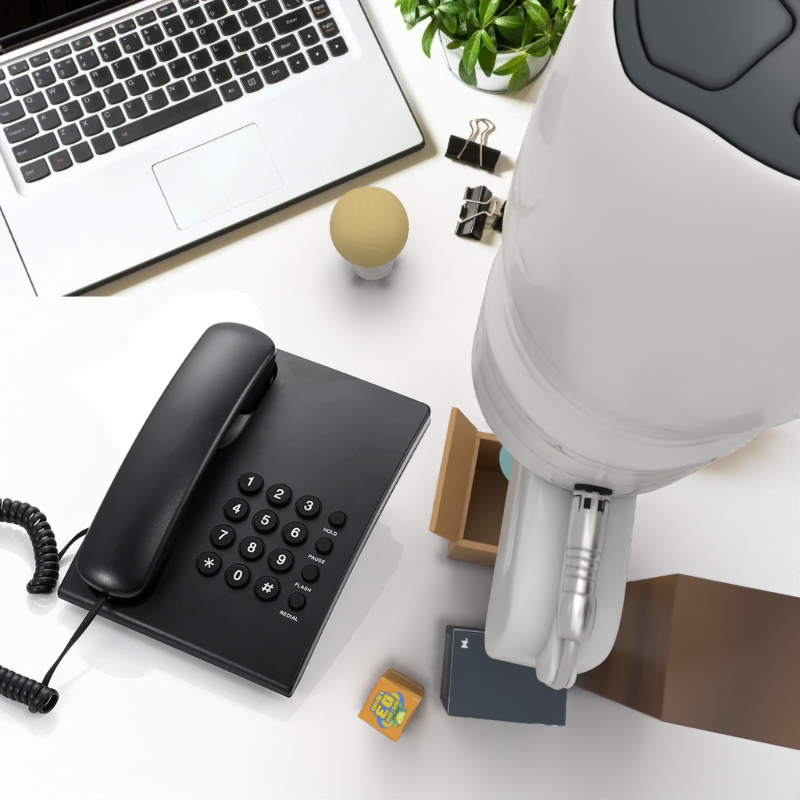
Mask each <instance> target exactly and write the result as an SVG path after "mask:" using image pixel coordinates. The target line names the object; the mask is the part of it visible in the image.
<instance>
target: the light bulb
mask: <svg viewBox="0 0 800 800" xmlns="http://www.w3.org/2000/svg"><path fill="white" fill-rule="evenodd" d="M408 217H409V216H408V214H407V210H406V208H405V207H404V205H403V203H402V201H401V200H400V199H399V197H397V196H396V194H394V193H393V192H392V191H390V190H388V189H386V188H383V187H380V186H370V185H369V186H368V185H367V186H366V185H365V186H360V187H357V188H352V189H351V190H349V191H347V192H345V193H344V194H343V195H342V196H340V197H339V198H338V200H337V202H336V203H335V205H334V206H333V208H332V211H331V214H330V218H329V235H330V239H331V241H332V244H333V246H334V248H335V250H336V251H337V253H338V254H339V256H341V257H342V258H343V259H344V260H346V261H347V262H349V263H350V264H351V267H352V269H353V271H354V272H355V274H356V275H357V276H358V277H360V278H361V279H362V280H363V279H364V280H366V281H378V280H382V279H383V278H385V277H387V276H388V275H389V273H390V272H392V270H393V267H394V264H395V259H396V258H397V257H398V256H399V255H400V254H401V253H402V251H403V249H404V248H405V246H406V244H407V242H408V237H409V232H410V221H409V218H408Z"/></svg>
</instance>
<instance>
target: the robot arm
mask: <svg viewBox="0 0 800 800" xmlns="http://www.w3.org/2000/svg"><path fill="white" fill-rule="evenodd" d="M472 339H473V340H472V341H473V342H472V346H471V359H470V364H471V379H472V385H473V390H474V393H475V398H476V400H477V401H476V402H477V404H478V406H479V409H480V412H481V415H482V416H483V418H484V420H485V422H486V423H487V426H488V427H489V429H490V430H491V432H492V434H494V435H495V437H496V438H497V439H498V440H499V442H500V443H501V444H502V445H503V447H504V448H505V449H506V450H507V451H508V452H509V453H510V454H511V455H512V456H513V459H512V465H511V472H510V478H509V484H508V490H507V496H506V502H505V508H504V514H503V520H502V526H501V533H500V539H499V545H498V551H497V557H496V563H495V567H494V569H493V575H492V582H491V589H490V594H489V600H488V605H487V611H486V612H487V613H486V620H485V627H484V628H485V650H486V653H487V655H488V656H489V657H491V658H493V659H498V660H502V661H506V662H511V663H515V664H519V665H524V666H528V667H533V668H536V675H537V678H538V680H539V681H541V682H543V683H545V684H546V685H547V686H549V687H551V688H553V689H556V690H559V689H562V688H567V689H571V688H572V687H573V686H574V685H573V684H574V683H575V680H576V676H577V674H579V673H583V672H586V671H589V670H591V669H593V668H594V667H596V666H598V665H599V664H601V663H602V662H603V661H604V660H605V659H606V658H607V656H608V655H609V653H610V651H611V649H612V647H613V645H614V643H615V640H616V636H617V633H618V629H619V625H620V620H621V615H622V609H623V603H624V596H625V588H626V582H627V579H628V571H629V563H630V555H631V546H632V539H633V529H634V521H635V514H636V507H637V506H636V505H637V499H638V495H644V494H648V493H651V492H654V491H657V490H660V489H662V488H665V487H667V486H669V485H672V484H674V483H676V482H678V481H681V480H682V479H684V478H686V477H688V476H690V475H692V474H694V473H695V472H698V471H699V470H701V469H703V468H705V467H707V466H709V465H711V464H713V463H716V462H717V461H719V460H721V459H722V458H723V459H724V458H725V457H727V456H729V455H731V454H733V453H734V452H736V451H738V450H739V449H742V447H744V446H746V445H747V444H749V443H750V442H751V441H753V440H754V439H755V438H756V437H758V436H759V435H760V434H762V433H763V432H764V431H766V430H769V429H772V428H775V427H778V426H781V425H785V424H787V423H790V422H793V421H795V420H797V419H800V0H578V3H577V4H576V7H575V9H574V11H573V13H572V14H571V17H570V19H569V21H568V23H567V26H566V28H565V30H564V33H563V35H562V37H561V39H560V41H559V43H558V47H557V48H556V51H555V53H554V54H553V57H552V59H551V62H550V65H549V66H548V69H547V71H546V74H545V77H544V79H543V82H542V85H541V87H540V90H539V93H538V95H537V98H536V101H535V103H534V106H533V109H532V111H531V114H530V118H529V120H528V123H527V126H526V129H525V133H524V135H523V138H522V141H521V144H520V148H519V151H518V154H517V158H516V161H515V165H514V169H513V173H512V177H511V182H510V185H509V190H508V194H507V198H506V202H505V205H504V210H503V217H502V225H501V244H500V245H499V246H498V250H497V252H496V254H495V255H494V258H493V261H492V263H491V267H490V270H489V273H488V276H487V280H486V285H485V290H484V293H483V297H482V302H481V306H480V310H479V313H478V318H477V323H476V327H475V330H474V335H473V338H472Z"/></svg>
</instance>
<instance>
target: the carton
mask: <svg viewBox="0 0 800 800" xmlns="http://www.w3.org/2000/svg"><path fill="white" fill-rule="evenodd" d="M502 446H503V445H502V444H501V443H500V442H499V440H498V439H497V438H496V437H495V435H494V433H491V432H485V431H481V430H477V434H476V440H475V446H474V451H473V457H472V462H471V468H470V474H469V479H468V485H467V491H466V496H465V502H464V508H463V513H462V519H461V525H460V530H459V536H458V541H457V544H456V543H451V542H449V541H448V548H447V553H446V558H448V559H452V560H456V561H460V562H465V563H471V564H475V565H482V566H486V567H492V568H495V563H496V557H497V551H498V545H499V539H500V533H501V526H502V520H503V514H504V508H505V502H506V496H507V490H508V484H509V480H508V479H507V478H506V477H505V475H504V474H503V472H502V469H501V466H500V451H501V448H502Z"/></svg>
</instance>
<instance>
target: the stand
mask: <svg viewBox="0 0 800 800" xmlns="http://www.w3.org/2000/svg"><path fill="white" fill-rule="evenodd" d="M573 686H574V687H576V688H579V689H580V690H584V691H586V692H588V693H591V694H593V695H596V696H598V697H600V698H603V699H605V700H608V701H611V702H613V703H614V704H618V705H620V706H623V707H625V708H627V709H630V710H632V711H635V712H637V713H640V714H642V715H645V716H647V717H650V718H652V719H654V720H656V721H659V722H662V723H667V724H671V725H676V726H681V727H685V728H690V729H694V730H695V729H696V730H699V731H700V730H701V731H705V732H710V733H714V734H719V735H724V736H729V737H733V738H738V739H743V740H747V741H752V742H758V743H762V744H767V745H770V746H771V745H772V746H777V747H781V748H786V749H790V750H795V751H800V596H795V595H791V594H786V593H780V592H776V591H775V592H774V591H771V590H766V589H760V588H755V587H749V586H744V585H741V584H734V583H729V582H724V581H720V580H715V579H709V578H704V577H699V576H695V575H694V576H693V575H690V574H684V573H679V572H677V573H671V574H665V575H659V576H654V577H647V578H640V579H635V580H629V581H626V588H625V596H624V603H623V609H622V615H621V620H620V625H619V629H618V633H617V636H616V640H615V643H614V645H613V647H612V649H611V651H610V653H609V655H608V656H607V658H606V659H605V660H604V661H603V662H602V663H601V664H599V665H598V666H596V667H594V668H593V669H591V670H589V671H586V672H583V673H579V674H577V676H576V680H575V683H574V684H573Z"/></svg>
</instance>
